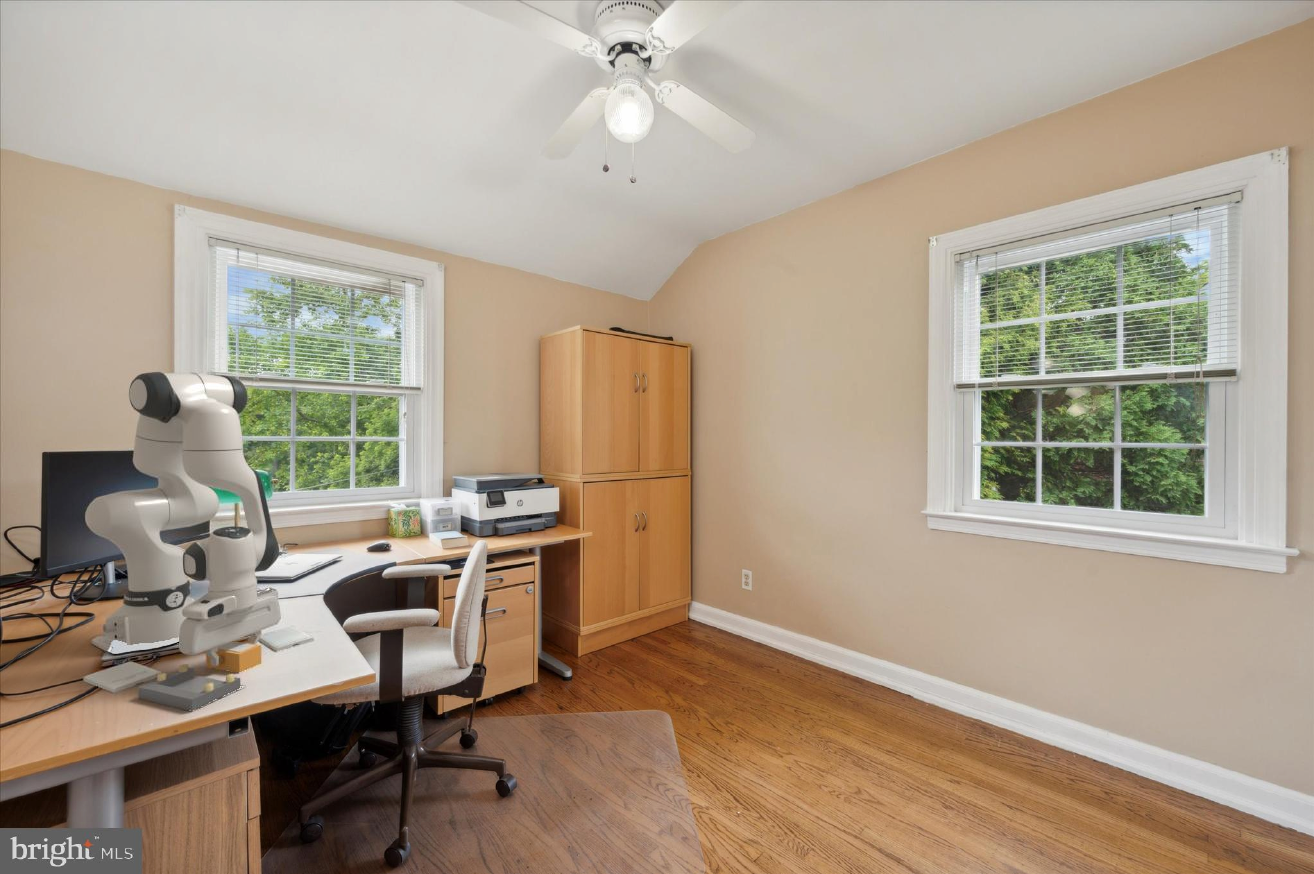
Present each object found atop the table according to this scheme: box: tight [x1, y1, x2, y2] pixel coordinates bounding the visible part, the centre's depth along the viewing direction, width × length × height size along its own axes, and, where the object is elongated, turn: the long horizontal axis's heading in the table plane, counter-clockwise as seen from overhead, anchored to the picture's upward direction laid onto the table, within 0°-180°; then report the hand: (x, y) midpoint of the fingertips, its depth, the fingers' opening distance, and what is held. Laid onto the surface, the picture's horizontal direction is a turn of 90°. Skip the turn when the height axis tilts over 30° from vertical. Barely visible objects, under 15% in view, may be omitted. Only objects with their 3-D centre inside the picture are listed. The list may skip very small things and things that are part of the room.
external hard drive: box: [83, 661, 163, 694], centre depth 117 cm, size 2×8×12 cm
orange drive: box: [205, 640, 262, 673], centre depth 123 cm, size 10×5×5 cm, turn 75°
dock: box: [138, 663, 245, 712], centre depth 111 cm, size 16×10×4 cm, turn 73°
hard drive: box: [258, 625, 315, 653], centre depth 137 cm, size 2×8×12 cm
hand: (234, 657), depth 123 cm, fingers open, 6 cm apart
